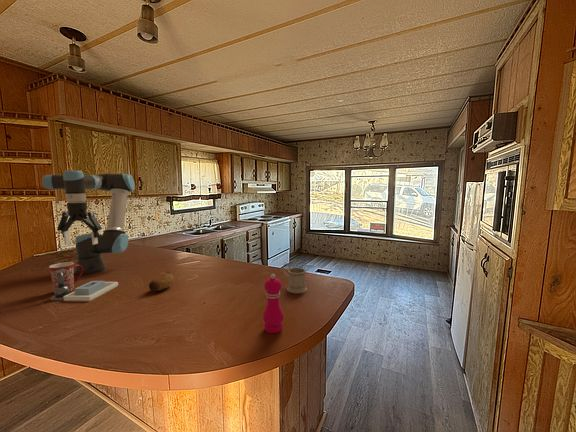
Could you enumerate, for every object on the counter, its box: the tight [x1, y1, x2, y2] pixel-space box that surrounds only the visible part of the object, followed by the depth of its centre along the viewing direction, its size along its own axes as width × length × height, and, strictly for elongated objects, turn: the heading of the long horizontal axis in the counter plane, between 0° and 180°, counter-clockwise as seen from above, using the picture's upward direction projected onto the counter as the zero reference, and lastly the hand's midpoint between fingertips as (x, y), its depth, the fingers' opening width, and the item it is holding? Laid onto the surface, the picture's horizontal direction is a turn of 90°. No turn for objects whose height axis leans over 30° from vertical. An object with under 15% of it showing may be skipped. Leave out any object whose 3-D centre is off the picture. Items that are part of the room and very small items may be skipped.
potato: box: [148, 270, 175, 292], centre depth 125 cm, size 8×13×8 cm
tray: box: [63, 281, 119, 302], centre depth 120 cm, size 18×12×2 cm, turn 179°
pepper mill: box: [262, 273, 284, 334], centre depth 88 cm, size 7×7×20 cm
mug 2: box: [282, 262, 308, 294], centre depth 125 cm, size 14×10×12 cm
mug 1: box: [48, 261, 83, 294], centre depth 123 cm, size 13×9×14 cm
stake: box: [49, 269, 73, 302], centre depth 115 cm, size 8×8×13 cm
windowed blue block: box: [74, 280, 106, 296], centre depth 120 cm, size 12×6×4 cm, turn 179°
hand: (81, 244), depth 126 cm, fingers open, 13 cm apart
